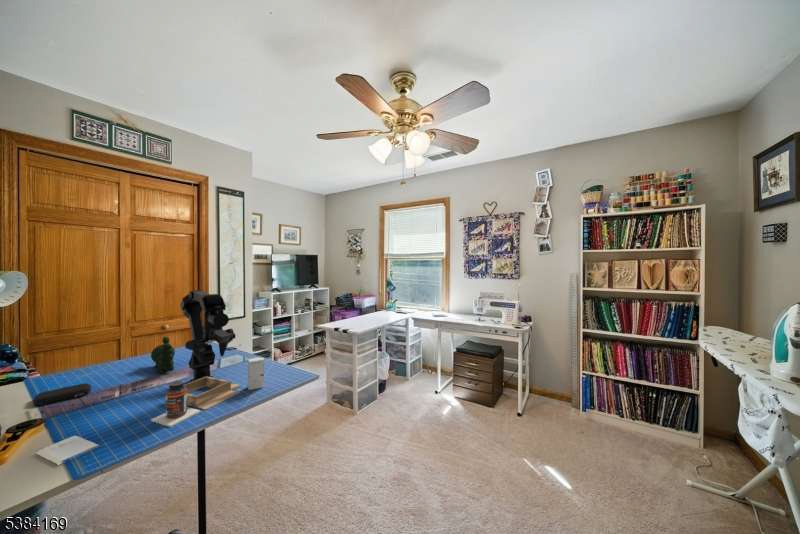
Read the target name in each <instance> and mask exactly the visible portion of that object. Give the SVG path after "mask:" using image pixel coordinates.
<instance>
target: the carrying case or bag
mask: <svg viewBox="0 0 800 534" xmlns="http://www.w3.org/2000/svg"><path fill="white" fill-rule="evenodd" d="M91 391H92V387H91V384H89V383H84V382H83V383H79V384H74V385H69V386H64V387H61V388H55V389H52V390H51V389H50V390H47V391H42V392H40V393H38V394H37V395H36V396H35V397H34V399H33V405H34V406H37V405H41V404H42V405H41V406H44V405H43V404H46V405H48V404H47V403H50V404H53V403H52V402H54V403H58V402H57V401H59V402H63V401H68V400H71V399H75V398H80V397H83V396H86V395H88V394H89V393H91ZM62 400H63V401H62Z"/></svg>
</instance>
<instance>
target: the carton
mask: <svg viewBox="0 0 800 534" xmlns="http://www.w3.org/2000/svg"><path fill="white" fill-rule="evenodd" d="M241 386H242V385H241V384H236V383H232V381H231V380H225V379H220V378H216V377H213V378H212V377H207V376H205V377H203V378H200V379H198V380H195V381H190V382H188V383H186V384H185V383H184V387H186V388H187V407H188V406H189V407H192V406H193V407H192V408H196V407H197V409H200V408H201V409H200V410H203V409H204V410H205V411H206V410H209V409H210V407H211V408H213V407H215V406H216V405H219V404H221V403H222V402H225V401H227V400H228V398H229V399H230V398H233V397H235V396H237V395H239V394H240V393H241V392H240V391H236V390H235V389H237V388H240V387H241ZM205 387H207V388H211V389H208V390H206V391H204V392H202V393H200V394H198V395H194V394H191V393H193V391H194V392H196V391H199V390H201V389H203V388H205ZM200 388H201V389H200ZM233 389H234V390H233ZM195 390H196V391H195Z"/></svg>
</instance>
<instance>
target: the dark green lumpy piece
mask: <svg viewBox="0 0 800 534" xmlns="http://www.w3.org/2000/svg"><path fill="white" fill-rule="evenodd" d="M175 353H176V352H175V348H174V347H173V346H172V344H171V343H170V338H169V337H168V336H163V338H162V344H159V345H157V346H156V347H154V348H153V349H152V351H151V352H150V357H151V360H152V361H153V362H154V363H155V365H154V369H155V372H156V373H158V374H163V373H164V372H166V371H170V372H172V371H174V370H175V366H174V364H175V363H174V358H175Z"/></svg>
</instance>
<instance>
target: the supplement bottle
mask: <svg viewBox="0 0 800 534" xmlns="http://www.w3.org/2000/svg"><path fill="white" fill-rule="evenodd" d="M184 385H185V382H184V381H183V380H177V381H176V380H175V381H173V382H171V383H169V387H168V388H169V389H168V390H167V391H166V392H165V413H166V417H167V418H178V417H180V416H183V415H184V414H185V413H186V412H187V407H188V405H187V388H186V387H184Z"/></svg>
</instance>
